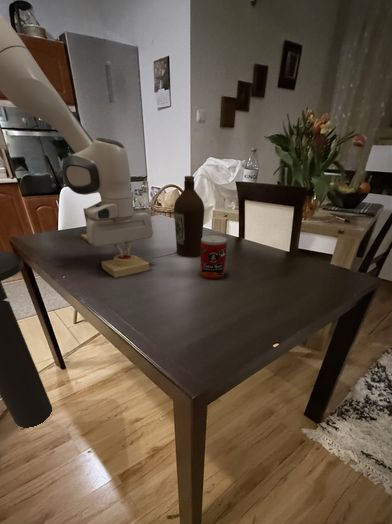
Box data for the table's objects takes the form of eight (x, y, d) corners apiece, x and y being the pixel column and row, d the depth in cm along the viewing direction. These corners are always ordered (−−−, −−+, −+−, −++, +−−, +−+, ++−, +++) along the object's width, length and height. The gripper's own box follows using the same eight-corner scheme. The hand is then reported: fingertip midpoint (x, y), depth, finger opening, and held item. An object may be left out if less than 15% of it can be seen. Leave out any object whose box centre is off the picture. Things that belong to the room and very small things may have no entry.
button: (122, 264, 89) (121, 258, 88) (117, 261, 91) (116, 255, 90) (132, 262, 90) (132, 256, 89) (127, 259, 93) (127, 253, 92)
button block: (115, 277, 86) (113, 265, 84) (102, 268, 92) (100, 256, 90) (149, 269, 92) (148, 257, 90) (135, 261, 98) (134, 249, 96)
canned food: (199, 279, 86) (200, 242, 80) (200, 269, 93) (201, 234, 86) (224, 280, 86) (227, 243, 80) (223, 270, 93) (226, 235, 86)
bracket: (112, 240, 119) (107, 210, 112) (91, 244, 114) (85, 212, 108) (101, 234, 127) (96, 205, 120) (81, 237, 122) (75, 207, 115)
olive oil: (194, 247, 113) (195, 174, 98) (208, 255, 105) (211, 177, 91) (170, 251, 109) (167, 175, 94) (182, 259, 101) (181, 178, 86)
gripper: (144, 203, 89) (148, 248, 97) (79, 210, 79) (90, 259, 87) (154, 206, 85) (157, 253, 93) (88, 213, 75) (97, 265, 83)
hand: (124, 256), depth 90 cm, fingers closed, pressing on button
